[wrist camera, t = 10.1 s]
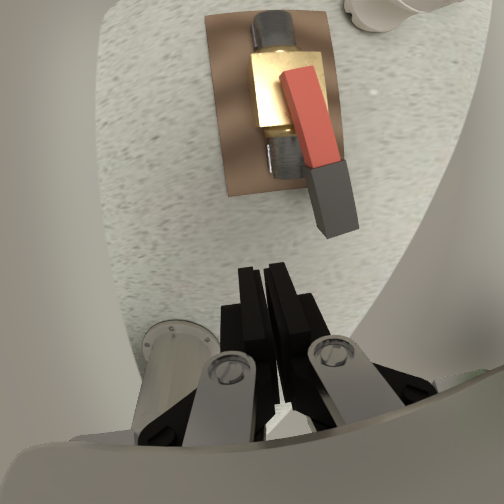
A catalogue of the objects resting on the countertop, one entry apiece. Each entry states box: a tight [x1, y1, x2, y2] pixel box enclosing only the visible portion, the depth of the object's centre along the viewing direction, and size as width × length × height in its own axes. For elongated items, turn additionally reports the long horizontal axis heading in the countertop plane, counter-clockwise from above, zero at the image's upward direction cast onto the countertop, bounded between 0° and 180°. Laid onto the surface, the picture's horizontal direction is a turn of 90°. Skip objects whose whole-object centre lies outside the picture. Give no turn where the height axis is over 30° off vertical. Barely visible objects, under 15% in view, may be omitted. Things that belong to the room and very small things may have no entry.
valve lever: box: [279, 65, 359, 239], centre depth 23 cm, size 3×14×4 cm, turn 18°
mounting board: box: [205, 10, 344, 197], centre depth 29 cm, size 22×14×2 cm, turn 7°
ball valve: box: [246, 10, 329, 180], centre depth 26 cm, size 18×6×6 cm, turn 7°
